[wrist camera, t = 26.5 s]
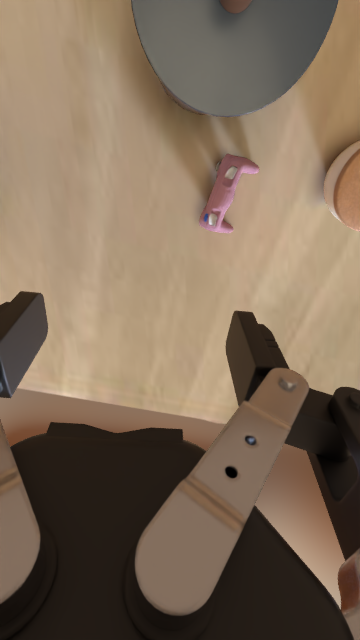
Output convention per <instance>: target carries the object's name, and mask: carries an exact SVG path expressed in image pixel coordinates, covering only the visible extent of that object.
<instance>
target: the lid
mask: <svg viewBox="0 0 360 640" xmlns="http://www.w3.org/2000/svg"><path fill="white" fill-rule="evenodd" d="M131 4H132V11H133V15H134V20H135V25H136V29H137V32H138V35H139V38H140V41H141V44H142V47H143V49H144V51H145V54H146V56H147V58H148V61H149V62H150V64H151V66H152V68H153V70H154V71H155V73H156V75H157V76H158V77H159V79H160V80H161V81H162V83H163V84H164V85H165V87H166V88H167V89H168V90H169V91H170V92H171V93H172V94H173V95H174V96H175V97H176V98H178V99H179V100H180V101H181V102H183V103H184V104H186V105H187V106H189V107H191V108H192V109H194V110H197V111H199V112H202V113H204V114H208V115H213V116H220V117H232V116H240V115H244V114H248V113H252V112H254V111H257V110H259V109H262V108H264V107H265V106H267V105H269V104H271V103H272V102H274V101H275V100H277V99H278V98H279V97H281V96H282V95H283V94H285V93H286V92H287V91H288V90H289V89H290V88H291V87H292V86H293V85H294V84H295V83H296V82H297V81H298V79H299V78H300V77H301V76H302V75H303V73H304V72H305V71H306V70H307V68H308V67H309V65H310V64H311V62H312V61H313V59H314V58H315V56H316V54H317V53H318V51H319V49H320V47H321V45H322V43H323V42H324V39H325V37H326V35H327V32H328V30H329V28H330V25H331V23H332V20H333V17H334V14H335V11H336V8H337V4H338V0H131Z"/></svg>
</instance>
